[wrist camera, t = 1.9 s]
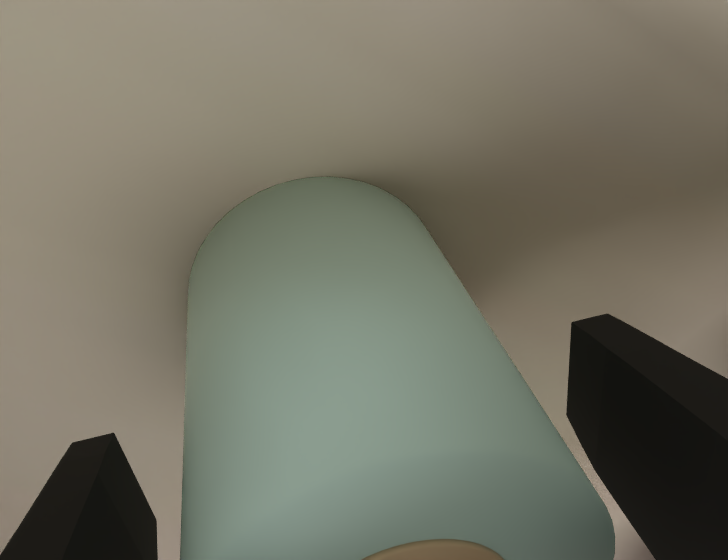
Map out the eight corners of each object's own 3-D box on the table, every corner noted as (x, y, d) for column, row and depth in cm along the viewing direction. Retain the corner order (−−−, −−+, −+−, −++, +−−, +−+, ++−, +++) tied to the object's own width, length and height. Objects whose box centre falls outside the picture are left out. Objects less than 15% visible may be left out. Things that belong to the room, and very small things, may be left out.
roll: (224, 415, 15) (241, 780, 9) (153, 209, 12) (106, 544, 6) (446, 360, 15) (603, 669, 9) (428, 151, 12) (640, 403, 6)
